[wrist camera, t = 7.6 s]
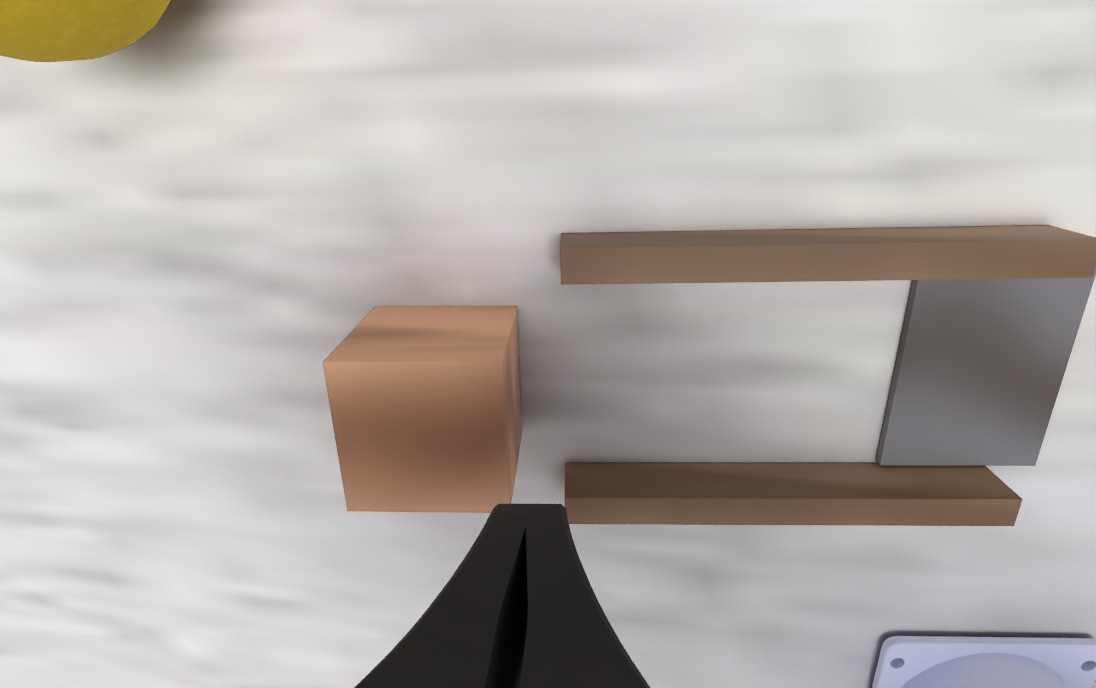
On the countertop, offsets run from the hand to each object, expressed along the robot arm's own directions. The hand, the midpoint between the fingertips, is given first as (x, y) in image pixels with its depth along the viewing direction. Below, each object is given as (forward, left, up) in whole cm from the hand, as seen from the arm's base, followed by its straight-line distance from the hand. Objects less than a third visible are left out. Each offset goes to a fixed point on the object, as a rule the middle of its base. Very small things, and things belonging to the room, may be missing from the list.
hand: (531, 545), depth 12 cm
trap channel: (0, -8, -9) cm, 11 cm away
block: (0, +3, -9) cm, 9 cm away
